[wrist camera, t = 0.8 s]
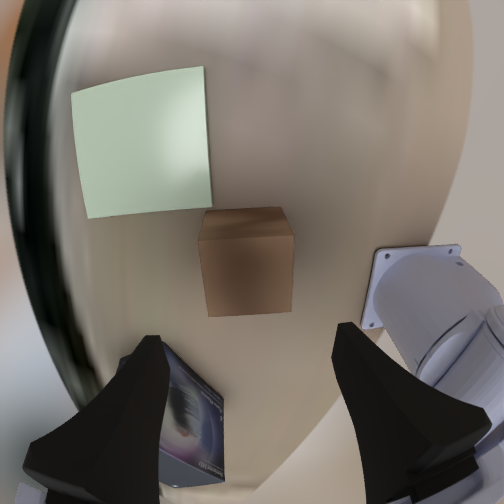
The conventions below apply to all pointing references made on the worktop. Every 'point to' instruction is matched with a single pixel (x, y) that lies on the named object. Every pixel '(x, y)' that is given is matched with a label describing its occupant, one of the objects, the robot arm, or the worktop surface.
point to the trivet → (144, 143)
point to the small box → (190, 429)
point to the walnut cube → (247, 261)
